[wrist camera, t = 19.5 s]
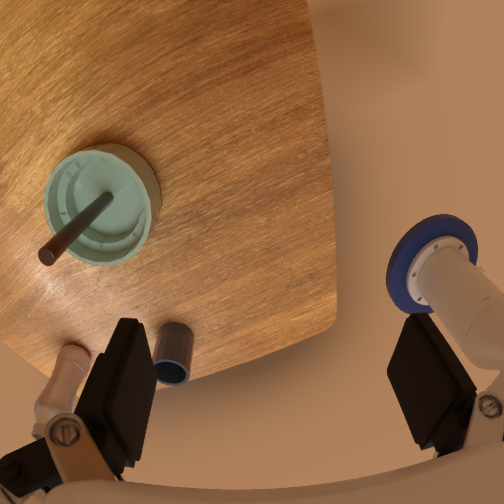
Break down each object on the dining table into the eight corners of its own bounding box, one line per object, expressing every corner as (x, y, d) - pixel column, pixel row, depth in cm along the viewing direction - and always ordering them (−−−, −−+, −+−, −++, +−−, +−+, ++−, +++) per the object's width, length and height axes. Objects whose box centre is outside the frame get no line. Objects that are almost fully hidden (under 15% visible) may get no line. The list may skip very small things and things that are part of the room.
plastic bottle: (57, 346, 49) (16, 428, 32) (76, 335, 48) (33, 424, 30) (80, 368, 52) (48, 451, 34) (100, 358, 51) (68, 449, 33)
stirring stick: (113, 191, 37) (51, 247, 22) (114, 204, 37) (56, 266, 23) (100, 191, 37) (35, 247, 22) (102, 204, 37) (40, 266, 23)
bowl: (158, 138, 35) (146, 145, 30) (165, 246, 41) (157, 267, 36) (58, 148, 34) (36, 157, 29) (73, 246, 40) (57, 265, 35)
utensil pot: (192, 322, 47) (187, 360, 40) (195, 349, 50) (191, 386, 43) (156, 321, 47) (145, 358, 40) (161, 348, 50) (153, 384, 42)
